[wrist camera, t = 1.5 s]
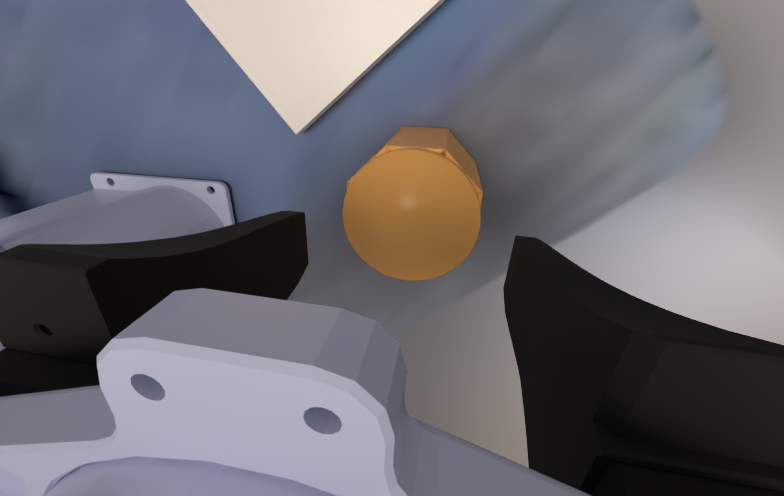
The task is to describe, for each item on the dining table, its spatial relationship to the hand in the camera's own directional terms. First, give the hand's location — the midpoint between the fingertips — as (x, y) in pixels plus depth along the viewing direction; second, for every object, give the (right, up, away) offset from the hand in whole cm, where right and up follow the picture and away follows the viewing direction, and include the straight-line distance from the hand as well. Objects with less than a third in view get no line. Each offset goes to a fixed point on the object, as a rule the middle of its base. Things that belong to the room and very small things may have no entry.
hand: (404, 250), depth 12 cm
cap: (+1, +4, +8) cm, 9 cm away
